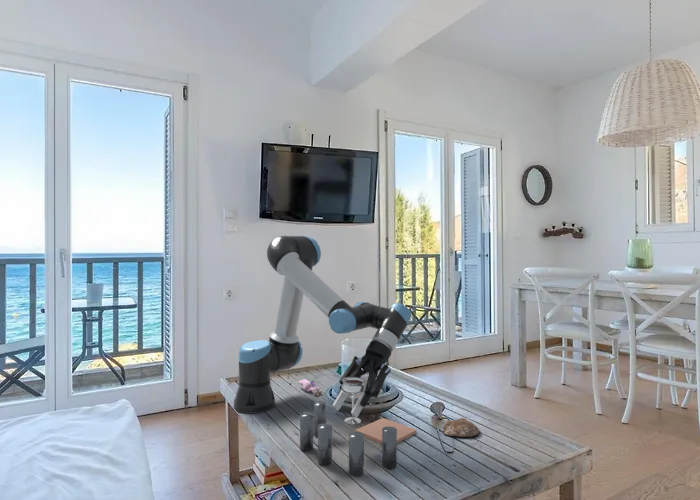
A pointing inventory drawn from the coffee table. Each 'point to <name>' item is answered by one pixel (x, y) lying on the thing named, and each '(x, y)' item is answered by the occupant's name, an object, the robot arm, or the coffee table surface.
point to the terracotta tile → (375, 428)
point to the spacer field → (318, 428)
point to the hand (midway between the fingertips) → (344, 411)
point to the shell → (460, 429)
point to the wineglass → (353, 393)
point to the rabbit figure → (310, 387)
